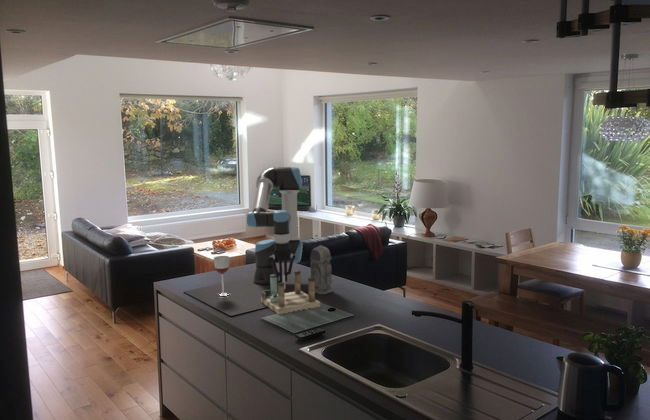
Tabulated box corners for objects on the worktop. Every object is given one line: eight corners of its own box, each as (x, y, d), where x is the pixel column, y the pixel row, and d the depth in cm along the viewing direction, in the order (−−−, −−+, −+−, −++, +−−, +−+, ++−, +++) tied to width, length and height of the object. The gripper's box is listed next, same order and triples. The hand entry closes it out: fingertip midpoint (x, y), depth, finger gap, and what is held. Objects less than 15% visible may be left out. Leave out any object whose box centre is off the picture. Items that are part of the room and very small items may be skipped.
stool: (261, 301, 274) (260, 275, 272) (300, 295, 284) (300, 269, 282) (278, 314, 255) (277, 285, 253) (320, 306, 265) (319, 279, 263)
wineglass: (232, 292, 290) (231, 255, 287) (228, 297, 282) (226, 259, 279) (218, 292, 291) (216, 255, 288) (213, 297, 282) (211, 259, 280)
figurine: (323, 295, 282) (323, 248, 279) (306, 290, 293) (305, 244, 289) (337, 292, 289) (337, 245, 285) (320, 286, 299) (319, 241, 296)
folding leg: (279, 302, 263) (279, 280, 262) (270, 302, 263) (269, 281, 261) (278, 295, 275) (277, 274, 273) (269, 295, 274) (268, 274, 273)
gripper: (294, 239, 274) (295, 285, 278) (268, 241, 272) (270, 286, 276) (295, 242, 267) (297, 289, 270) (269, 244, 265) (271, 291, 268)
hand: (283, 288), depth 273 cm, fingers closed
